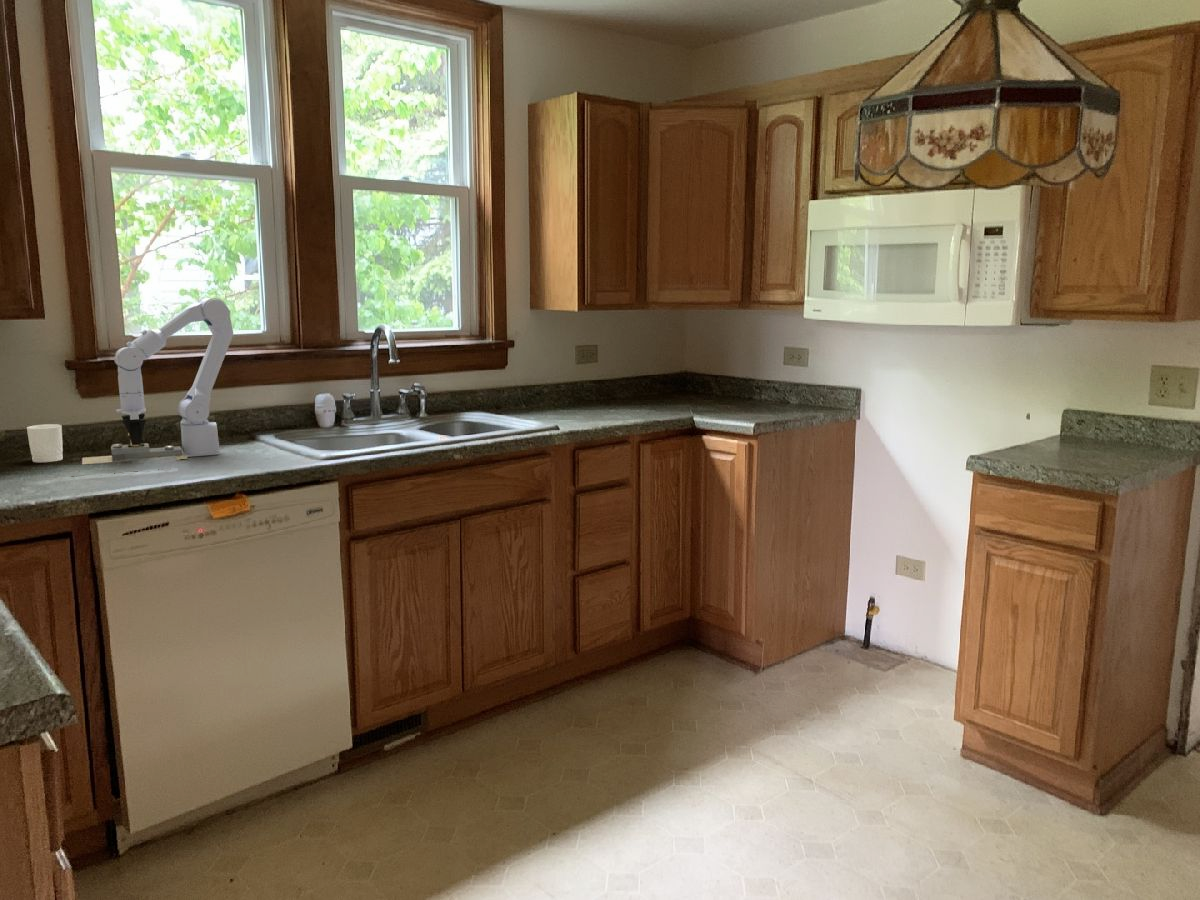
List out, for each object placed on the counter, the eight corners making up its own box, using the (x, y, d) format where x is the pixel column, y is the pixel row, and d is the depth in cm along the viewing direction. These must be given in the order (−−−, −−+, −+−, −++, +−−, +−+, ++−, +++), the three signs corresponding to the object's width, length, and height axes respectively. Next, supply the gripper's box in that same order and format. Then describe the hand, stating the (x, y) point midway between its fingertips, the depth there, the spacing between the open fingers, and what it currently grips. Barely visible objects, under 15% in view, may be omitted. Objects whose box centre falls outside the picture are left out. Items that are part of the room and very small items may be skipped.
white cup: (27, 463, 241) (23, 426, 239) (60, 459, 246) (56, 423, 244) (35, 467, 235) (31, 429, 233) (69, 463, 240) (65, 426, 239)
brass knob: (143, 455, 247) (141, 431, 246) (143, 457, 244) (141, 433, 243) (129, 456, 246) (127, 432, 244) (130, 458, 243) (128, 433, 242)
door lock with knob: (184, 453, 255) (183, 437, 254) (187, 459, 247) (186, 442, 246) (82, 461, 243) (81, 444, 243) (82, 468, 235) (80, 450, 234)
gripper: (114, 390, 246) (118, 439, 249) (115, 396, 234) (120, 448, 236) (143, 389, 250) (147, 437, 252) (145, 394, 237) (150, 445, 240)
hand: (136, 442), depth 244 cm, fingers open, 7 cm apart
